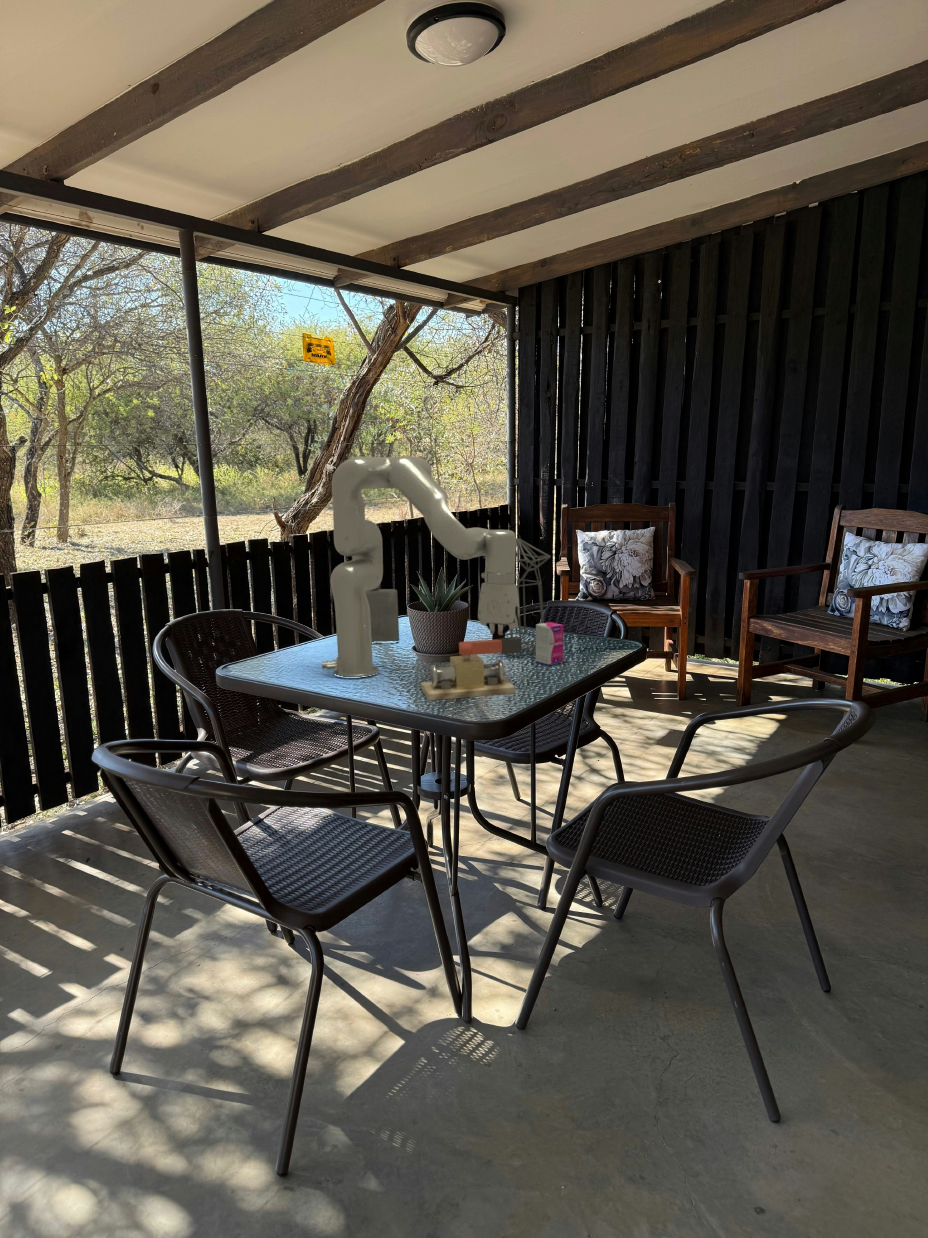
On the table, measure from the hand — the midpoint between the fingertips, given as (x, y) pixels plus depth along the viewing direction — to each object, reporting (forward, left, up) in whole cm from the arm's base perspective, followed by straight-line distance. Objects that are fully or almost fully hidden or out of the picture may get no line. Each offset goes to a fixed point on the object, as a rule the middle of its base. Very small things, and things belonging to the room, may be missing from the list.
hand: (498, 648), depth 208 cm
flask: (-25, +64, -10) cm, 70 cm away
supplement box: (+20, +18, -10) cm, 29 cm away
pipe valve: (-9, -4, -9) cm, 14 cm away
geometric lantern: (+15, +33, -10) cm, 38 cm away
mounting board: (-9, -4, -9) cm, 14 cm away
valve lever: (-3, -4, -1) cm, 5 cm away
